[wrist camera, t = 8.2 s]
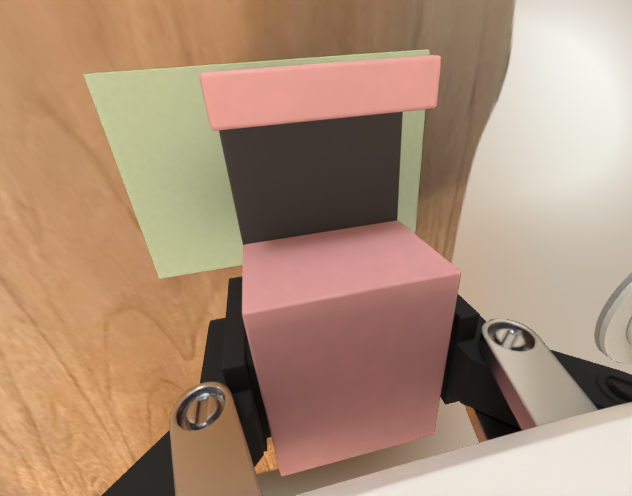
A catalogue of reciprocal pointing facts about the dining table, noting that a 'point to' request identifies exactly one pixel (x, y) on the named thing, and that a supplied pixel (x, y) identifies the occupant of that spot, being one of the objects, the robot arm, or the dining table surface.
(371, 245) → the pink phone stand
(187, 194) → the mat
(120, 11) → the dining table surface
